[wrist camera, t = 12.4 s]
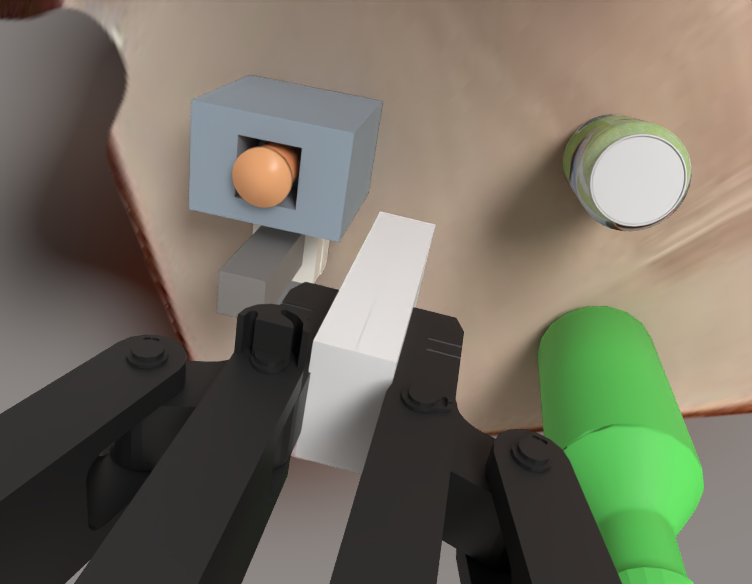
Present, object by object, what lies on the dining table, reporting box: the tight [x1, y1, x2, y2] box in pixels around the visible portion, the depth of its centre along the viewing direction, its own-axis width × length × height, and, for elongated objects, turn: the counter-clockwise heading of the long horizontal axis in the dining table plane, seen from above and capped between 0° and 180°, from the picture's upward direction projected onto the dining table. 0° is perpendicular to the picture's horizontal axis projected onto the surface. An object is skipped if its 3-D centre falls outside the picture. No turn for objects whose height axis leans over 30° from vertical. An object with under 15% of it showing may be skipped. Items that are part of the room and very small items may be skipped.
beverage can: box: [563, 114, 692, 231], centre depth 40 cm, size 6×7×12 cm
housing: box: [189, 75, 383, 242], centre depth 44 cm, size 7×10×10 cm
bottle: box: [538, 306, 704, 584], centre depth 42 cm, size 9×9×25 cm
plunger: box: [232, 141, 302, 208], centre depth 41 cm, size 4×4×5 cm
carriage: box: [217, 224, 330, 317], centre depth 46 cm, size 6×5×13 cm
